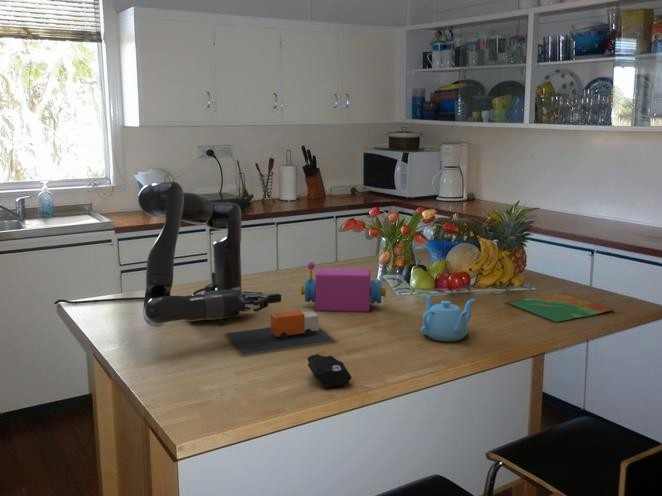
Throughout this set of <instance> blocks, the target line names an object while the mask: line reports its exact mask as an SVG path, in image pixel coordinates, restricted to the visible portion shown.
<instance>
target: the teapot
mask: <svg viewBox="0 0 662 496" xmlns="http://www.w3.org/2000/svg"><path fill="white" fill-rule="evenodd" d="M424 297H425V299H426V308H425V312H424V313H423V314H422V327H421V328H420V334H421V335H424V336H426V337H428V338H429V339H430V340H434V341H439V342H456V341H461V340H462V339H464V338H465V337H466V336H467V335H468V333H469V322H470V320H471V316H472V315H471V314H472V313H471V312H472V311H471V310H472V304H473V302H474V301H475V299H476V298H473V297H472V298H470V299H469V300H467V302H466V303H465V305H464V309H463V310H462V309H461V308H460V306H459V305H457V304H453V303H452V302H451V301H450V300H442V301H441V302H440V303H435V304H434V303H433V300H432V298H431V296H430V295H428V294H427V293H425V294H424Z"/></svg>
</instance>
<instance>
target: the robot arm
mask: <svg viewBox="0 0 662 496" xmlns="http://www.w3.org/2000/svg"><path fill="white" fill-rule="evenodd" d="M137 200H138V205H139V207H140V209H141V211H142V212H143V213H144V214H145V215H147V216H149V217H151V218H160V217H161V218H165V219H164V224H163V227H162V229H161V231H160V233H159V235H158V237H157V238H156V240H155V242H154V243H153V245H152V247H151V249H150V251H149V253H148V256H147V261H146V271H145V292H144V296H142V297H141V296H140V297H139V296H138V297H137V296H134V297H116V298H115V297H114V298H102V299H101V298H100V299H89V300H73V301H72V300H67V299H58V300H56V301H55V302H54V303H53V305H57V304H59V303H66V304H71V305H74V304H76V305H78V304H89V303H102V302H103V303H105V302H117V301H139V300H140V301H141V300H143V307H142V317H143V320H144V322H145V323H146V324H147V325H148V326H150V327H153V328H159V327H162V326H164V325H165V324H166V323H169V322H176V321H177V322H178V321H185V322H194V321H205V320H220V319H221V318H222V319H228V318H235V317H238V316H239V315H240V312H241V311H240V310H241V309H245V310H249V311H251V310H253V312H254V313H255V312H259V311H261V310H263V309H265V308H269V305H270V304H278V303H281V302H282V295H281V294H280V293H269V294H267V293H263V292H259V291H246V290H244V291H243V286H242V285H243V284H242V283H243V282H242V253H241V245H242V223H243V221H242V219H243V218H242V215H243V214H242V209H241V206H240V205H239V204H238V203H234V202H211V200H210V199H209V198H207V197H206V196H204V195H202V194H198V193H193V192H184V190H183V188H182V186H181V184H180V183H179V182H177V181H163V182H156V183H150V184H147V185H145V186H143V187H142V188H141V189H140V191H139V193H138V197H137ZM182 222H184V223H187V224H191V225H198V226H199V225H204V226H205V227H208V228H209V229H212V230H216V231H227V232H226V236H225V237H223V238H220V239H216V240H214V242H213V243H212V252H213V253H212V254H213V255H212V257H213V271H212V272H211V282H210V283H209V284H207V285H205V286H204V287H203V288H200V289H197V290H196V291H194V292H193V293H192V294H187V295H171V290H172V287H173V282H174V269H175V255H176V248H177V242H178V238H179V234H180V229H181V224H182ZM214 290H216V291H214ZM217 290H219V291H217ZM220 290H222V291H220ZM210 291H213V292H210ZM200 292H203V293H200ZM237 292H241V293H242V295H238V293H237ZM239 311H240V312H239Z"/></svg>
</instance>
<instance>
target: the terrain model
mask: <svg viewBox="0 0 662 496" xmlns="http://www.w3.org/2000/svg"><path fill="white" fill-rule="evenodd" d="M508 304H509V305H511V306H514V307H517V308H519V309H522V310H524V311H526V312H530V313H532V314H535V315H537V316H540V317H542V318H545V319H547V320H549V321H552V322H557V323H559V322H562V321H570V320H572V319H576V318H586V317H591V316H593V315H598V314H602V313H606V312H611V311H615V308H611V307H608V306H605V305H603V304H599V303H596V302H593V301H589V300H586V299H584V298H582V297H579V296H578V297H577V296H575V295H571V294H569V293H566V292H559V293H554V294H547V295H541V296H535V297H531V298H524V299H522V300H517V301H510V302H508Z"/></svg>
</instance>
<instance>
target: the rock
mask: <svg viewBox="0 0 662 496" xmlns="http://www.w3.org/2000/svg"><path fill="white" fill-rule="evenodd" d="M307 367H308V368H309V370H310V371H311V373H312V375H313V376H315V378H316V379H317V381H318V382H319V384H321V385H322V387H323V388H325V389H330V388H332V387H333V388H334V387H338V388H341V387H344V386H345V385H346V384H349V382H350V381H351V380H352V378H353V377H352V375H351V373H350V372H349V371H348V369H347V368H346V366H345V364H344V363H343V361H342V360H338V359H337V358H335V356H333V355H321V354H319V353H316V354H312V355H310V356H308V357H307Z"/></svg>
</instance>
